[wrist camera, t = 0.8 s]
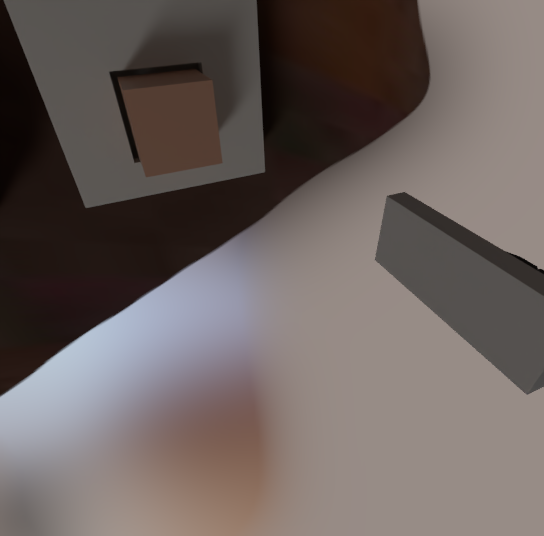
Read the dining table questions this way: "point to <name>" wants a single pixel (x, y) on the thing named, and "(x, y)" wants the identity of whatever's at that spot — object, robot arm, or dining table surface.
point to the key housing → (136, 61)
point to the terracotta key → (172, 120)
